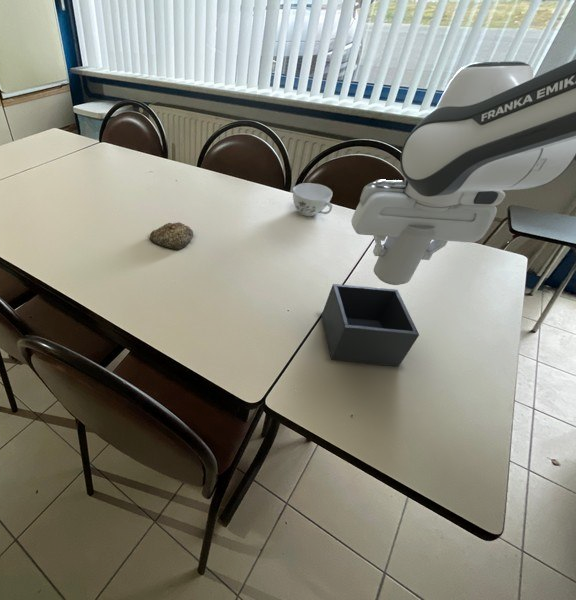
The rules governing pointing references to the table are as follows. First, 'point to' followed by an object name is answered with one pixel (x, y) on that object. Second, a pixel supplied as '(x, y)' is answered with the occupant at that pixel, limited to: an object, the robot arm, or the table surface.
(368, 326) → the waste bin
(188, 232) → the speckled grey pebble
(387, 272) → the beverage can
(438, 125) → the robot arm
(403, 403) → the table surface
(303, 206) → the teacup
